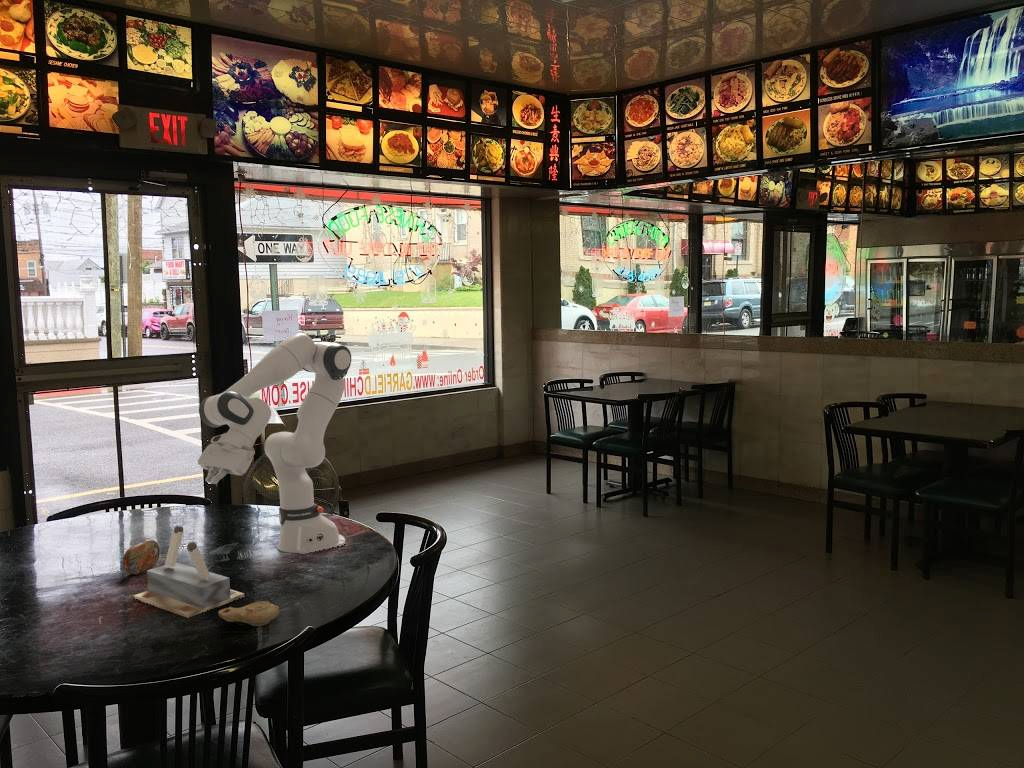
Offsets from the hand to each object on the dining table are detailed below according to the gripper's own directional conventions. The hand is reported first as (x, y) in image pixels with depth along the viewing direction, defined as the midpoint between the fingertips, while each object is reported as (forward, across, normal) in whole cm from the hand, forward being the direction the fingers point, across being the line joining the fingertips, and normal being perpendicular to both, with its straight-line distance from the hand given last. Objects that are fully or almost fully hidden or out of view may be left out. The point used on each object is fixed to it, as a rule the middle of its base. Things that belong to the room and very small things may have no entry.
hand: (210, 482), depth 251 cm
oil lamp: (+34, -39, -9) cm, 52 cm away
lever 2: (+27, -18, -5) cm, 33 cm away
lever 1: (+27, 0, -5) cm, 27 cm away
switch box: (+32, -9, -10) cm, 34 cm away
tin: (+27, +26, -15) cm, 40 cm away
